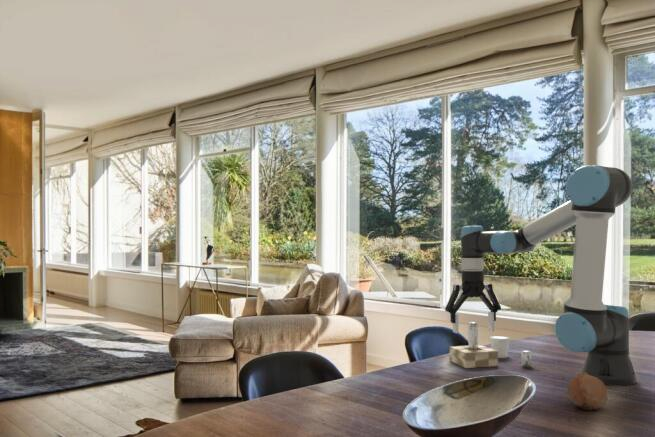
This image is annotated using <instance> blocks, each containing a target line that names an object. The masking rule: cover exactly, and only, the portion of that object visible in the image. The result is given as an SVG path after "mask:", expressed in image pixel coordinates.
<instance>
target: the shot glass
mask: <svg viewBox="0 0 655 437" xmlns="http://www.w3.org/2000/svg"><path fill="white" fill-rule="evenodd" d="M489 338H490V339H489V340H490V348H491V349H493V350H496V351H498V359H507V358H508V357H509V349H510V348H509V347H510V337H509V336H504V335H503V336H502V335H492V336H490V337H489Z"/></svg>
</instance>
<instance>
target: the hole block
mask: <svg viewBox="0 0 655 437" xmlns="http://www.w3.org/2000/svg"><path fill="white" fill-rule="evenodd" d="M449 361H450V362H452V363H454V364H456V365H458V366H460V367H463V368H465V369H471V368H486V367H487V368H488V367H497V366H499V358H498V351H496V350H493V349H491V347H487V346H485V345H482V344H478V350H469V344H468V345H455V346H452V345H451V346H449Z"/></svg>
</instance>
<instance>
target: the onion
mask: <svg viewBox="0 0 655 437" xmlns="http://www.w3.org/2000/svg"><path fill="white" fill-rule="evenodd" d="M567 388H568V389H567V392H568V396H569V398H570V400H571V402H573V403H574V405H576V406H577V407H579V408H581V409H583V410H584V411H590V412H592V411H596V410H598V409H600V408H601V407H602V406H603V405H606V404H607V402H608V395H609V394H608V393H609V392H608V389H607V385H605V384H604V383H603V382H602V381H601V380H600V379H598V378H597V377H594V376H591V375H589V374H588V373H586V372H582V371H581V373H577V376H575V377H573V378H572V379H571V380H570V381H569V384H568V387H567Z"/></svg>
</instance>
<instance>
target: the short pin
mask: <svg viewBox="0 0 655 437" xmlns="http://www.w3.org/2000/svg"><path fill="white" fill-rule="evenodd" d="M520 353H521V354H520V356H521V358H520V359H521V361H520V363H521V367H523V368H532V351H530V350H521V351H520Z"/></svg>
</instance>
